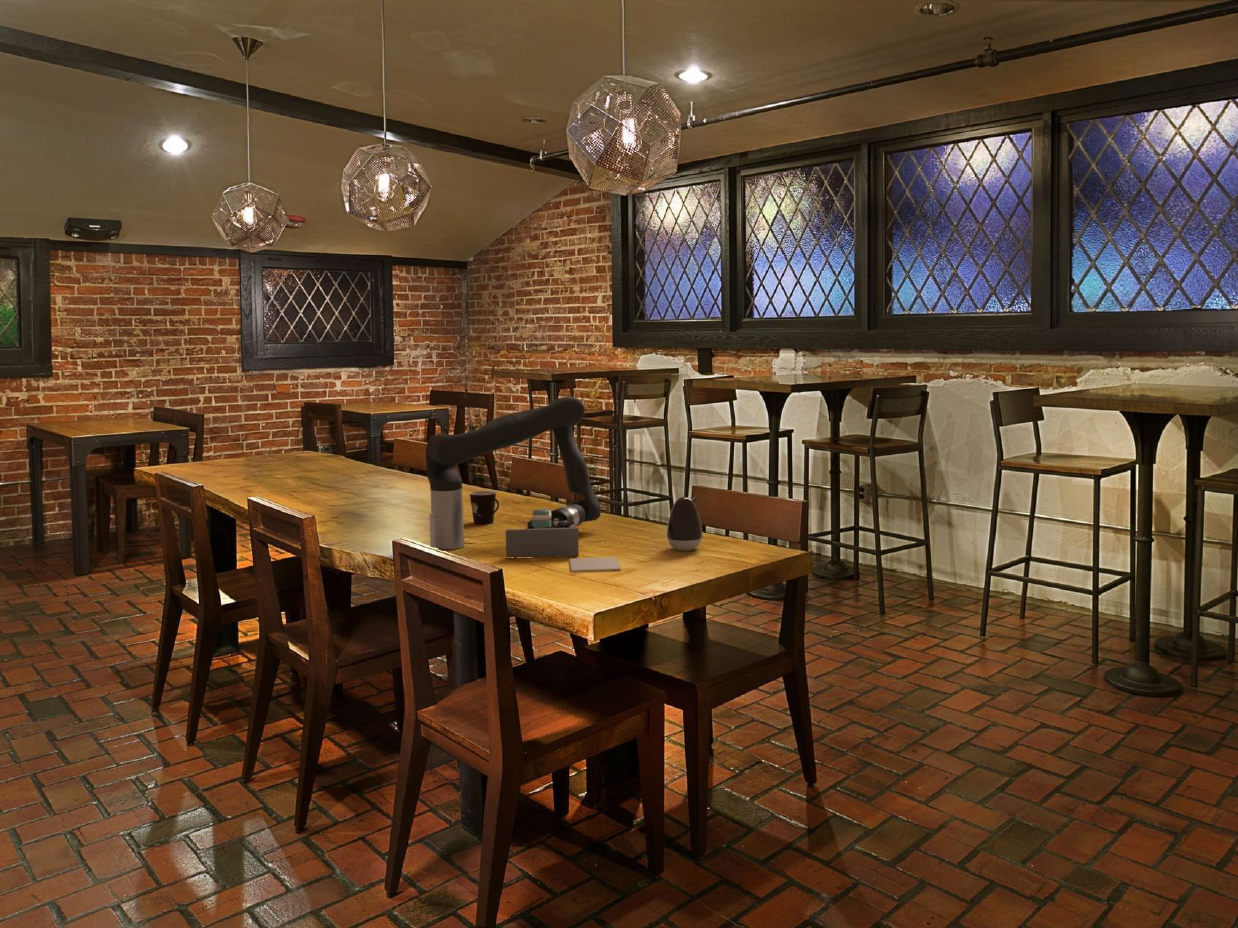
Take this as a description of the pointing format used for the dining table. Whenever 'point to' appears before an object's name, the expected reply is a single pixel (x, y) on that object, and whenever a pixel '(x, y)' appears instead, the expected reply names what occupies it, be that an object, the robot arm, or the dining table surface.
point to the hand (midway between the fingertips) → (538, 530)
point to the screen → (542, 542)
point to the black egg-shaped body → (684, 525)
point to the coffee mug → (483, 506)
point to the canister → (541, 518)
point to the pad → (594, 564)
